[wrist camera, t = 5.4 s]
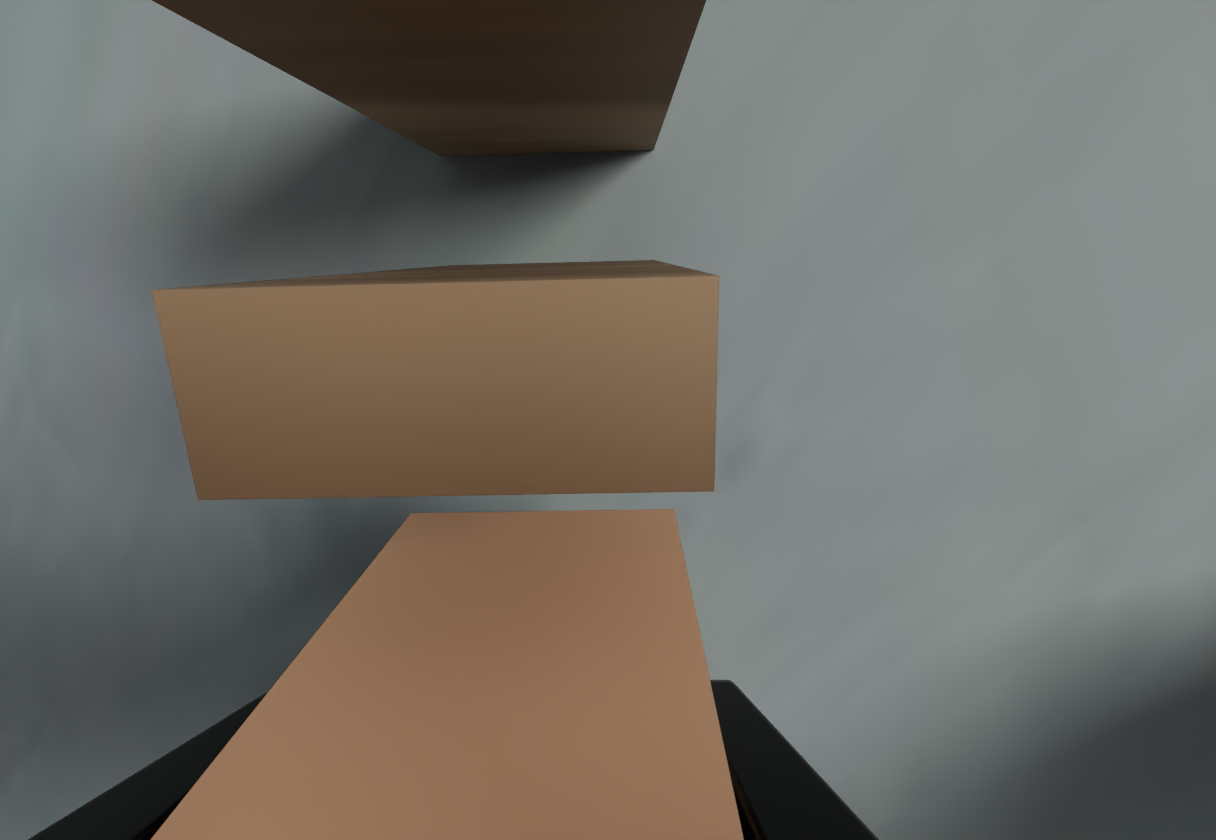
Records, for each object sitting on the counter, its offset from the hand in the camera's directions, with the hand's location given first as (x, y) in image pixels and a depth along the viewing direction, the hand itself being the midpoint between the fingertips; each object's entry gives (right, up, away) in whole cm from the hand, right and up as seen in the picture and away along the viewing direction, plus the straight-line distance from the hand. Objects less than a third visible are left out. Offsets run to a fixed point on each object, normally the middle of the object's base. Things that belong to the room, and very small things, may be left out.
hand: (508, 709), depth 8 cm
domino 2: (0, +7, +7) cm, 10 cm away
